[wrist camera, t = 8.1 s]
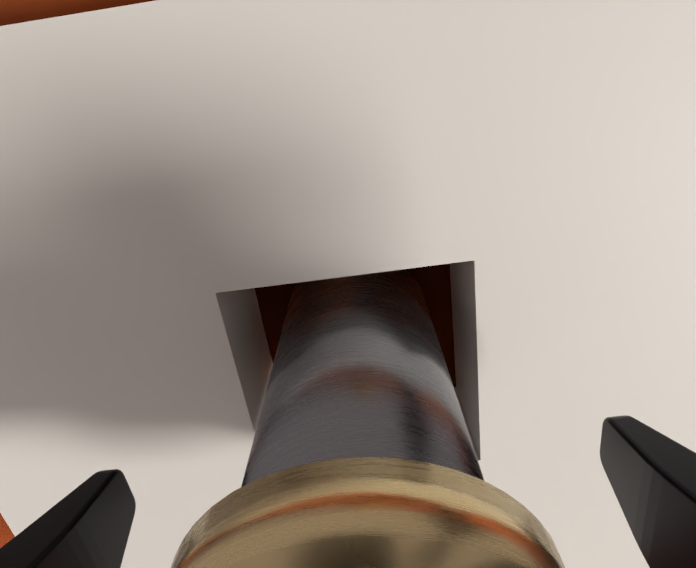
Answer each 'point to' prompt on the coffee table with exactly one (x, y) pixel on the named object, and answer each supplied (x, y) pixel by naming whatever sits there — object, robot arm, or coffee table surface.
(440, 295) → the coffee table surface
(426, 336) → the metal pin
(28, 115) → the hole plate
